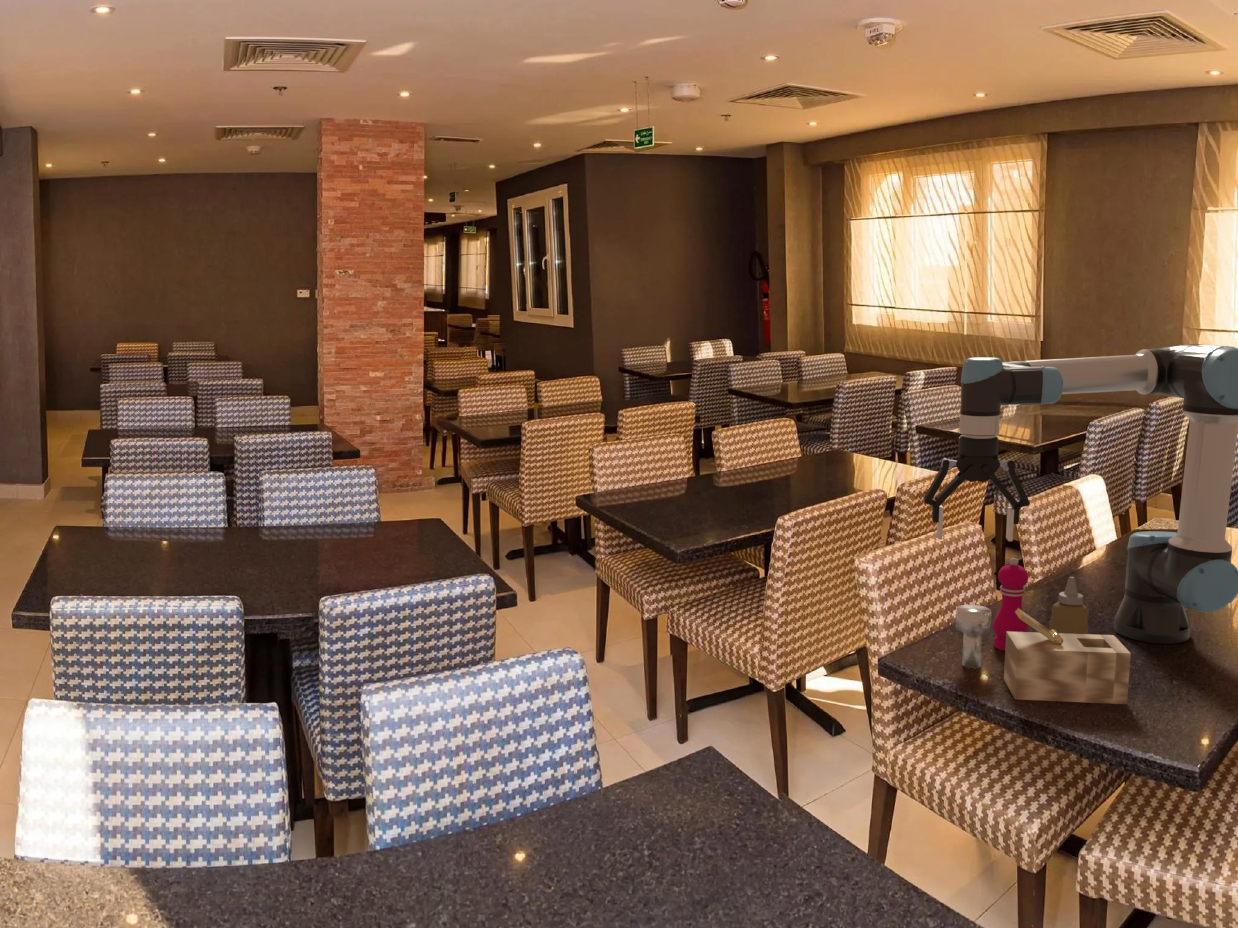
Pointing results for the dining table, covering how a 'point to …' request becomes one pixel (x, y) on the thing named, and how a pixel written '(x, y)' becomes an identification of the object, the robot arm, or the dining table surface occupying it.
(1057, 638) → the brass latch
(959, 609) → the silver capsule
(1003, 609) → the pepper mill
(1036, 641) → the maple block
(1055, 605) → the squeeze bottle
